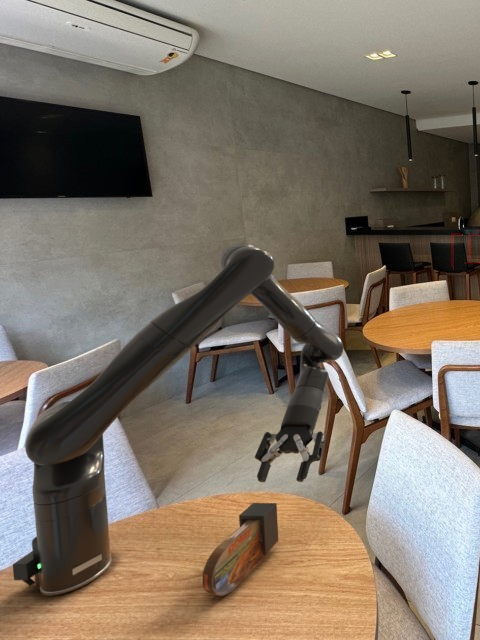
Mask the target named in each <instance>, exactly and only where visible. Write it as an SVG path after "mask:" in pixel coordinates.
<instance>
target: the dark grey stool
mask: <svg viewBox="0 0 480 640" xmlns="http://www.w3.org/2000/svg"><path fill="white" fill-rule="evenodd" d="M238 519H239V521H238V522H239V527H241V526H242V525H243V524H244V523H245V522H246V521H247V520H249V519H252V520H261V523H262V542H263V555H266V554H267V553H268V552H269V553H270V551H271V550H272V549H273V548H274V547H275V545H276V544H277V543H278V542H279V524H278V523H279V522H278V504H277V502H252V503H251V504H250V505H248V507H247V508H246V509H244V510H243V511H242V512H240V514H239V515H238ZM269 553H268V554H269ZM268 554H267V555H268Z"/></svg>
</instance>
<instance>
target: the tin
mask: <svg viewBox="0 0 480 640" xmlns="http://www.w3.org/2000/svg"><path fill="white" fill-rule="evenodd" d="M269 553H270V551H269V552H268V553H267V554H266V555H263V542H262V523H261V520H252V519H249V520H247V521H246V522H245V523H244V524H243V525H242V526H241V527H240V526H239V527H238V528H237V529H236V530H235V531H234V532H232V533H231V534H230V535H229V536H228V537H227V538H225V539H224V540H223V541H222V542H221V543H220V544H219V545H218V546H216V548H215V549H214V550H213V551H212V552H211V554H210V555H209V557H208V558H207V561H206V562H205V565H204V567H203V570H202V586H203V590H204V592H206V593H207V594H210V595H216V596H219V597H223V596H226V595H229V594H230V593H231V592H232V591H234V590H235V589H236V588H237V587H238V586H239V585H240V584H241V583H242V582H243V581H244V580H245V579H246V577H247V576H248V575H249V574H251V572H252V571H254V569H256V567H258V565H260V563H261V562H262V561H263V560H264V559H265V558H266V557H267V556H268V554H269Z"/></svg>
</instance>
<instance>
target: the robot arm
mask: <svg viewBox="0 0 480 640" xmlns="http://www.w3.org/2000/svg"><path fill="white" fill-rule="evenodd" d="M218 265H219V269H220V272H219V273H218V274H217V275H216V276H215V277H213V279H212V280H211V281H209V282H208V284H207V285H205V286H204V287H202V288H201V289H200V290H199V291H197V292H196V293H194V294H192V295H191V296H189V297H187V298H185V299H183V300H181V301H179V302H177V303H175V304H174V305H172V306H170V307H168V308H167V309H166V310H164V311H162V312H161V313H160V314H158V315H157V316H156V317H154V318H153V319H152V320H151V321H150V322H148V323H147V324H146V325H145V326H144V327H143V328H141V329H140V330H139V331H138V332H137V333H135V335H134V336H132V338H131V339H129V340H128V342H127V343H126V344H125V345H124V346H123V347H122V348H121V349H120V350H119V351H118V353H117V354H116V355H115V356H114V357H113V359H111V361H110V362H109V363H108V365H107V366H106V367H105V368H104V369H103V371H102V372H101V373H100V374H99V375H98V376H97V377H96V378H95V380H94V381H92V383H90V384H89V385H88V386H87V387H86V388H85V389H83V390H82V391H81V392H80V393H79V394H78V395H76V396H75V397H74V398H72V399H71V400H67V401H63V402H60V403H57V404H55V405H52V406H50V407H49V408H47V409H46V410H44V411H43V412H41V413H40V415H38V417H36V419H35V420H34V422H33V424H32V426H31V428H30V429H29V431H28V433H27V436H26V438H25V443H24V450H25V454H26V456H27V458H28V459H29V460H30V461H31V462H32V463H33V478H32V479H33V481H32V501H33V510H34V521H35V522H34V523H35V533H36V536H35V537H33V539H32V540H31V549H32V551H30V552H29V553H27V554H26V555H24V556H23V557H21V558H20V559H18V560H17V561H16V562H14V563H13V564H12V572H13V580H14V581H22V582H24V583H25V584H26V585H28V586H29V587H31V586H33V585H34V584H35V589H36V590H39V591H40V593H41V595H43V596H47V597H53V596H60V595H65V594H67V593H70V592H73V591H75V590H78V589H80V588H83V587H84V586H86V585H88V584H90V583H91V582H93V581H95V580H96V579H98V578H99V577H100V576H102V575H103V574H104V573H105V572H106V571H107V570H108V569H109V567H110V566H111V564H112V560H113V558H112V554H111V543H110V528H109V515H108V502H107V500H108V499H107V490H106V489H107V487H106V477H105V448H104V447H105V446H104V433H105V432H106V431H107V429H108V428H110V426H111V425H112V424H113V423H114V422H115V421H116V420H117V419H118V418H119V416H120V415H121V414H122V413H123V412H124V411H125V410H126V409H127V408H128V407H129V406H130V405H131V404H132V403H133V402H134V401H135V400H136V399H137V398H138V397H139V396H141V395H142V394H143V393H144V392H145V391H147V390H148V389H149V388H150V387H151V386H152V385H153V384H154V383H156V382H157V381H158V380H159V379H160V378H162V377H163V375H165V374H166V373H168V371H169V370H170V369H171V368H173V367H174V366H175V365H176V364H177V363H178V362H179V361H180V360H181V359H183V358H184V357H185V356H186V355H187V354H188V353H189V352H190V351H191V350H192V349H193V348H194V347H195V346H196V345H197V344H198V343H199V342H200V341H201V340H202V339H203V338H204V337H205V336H206V335H207V333H209V332H210V331H211V330H212V329H213V328H214V327H215V326H216V325H217V324H218V323H219V322H220V321H222V319H223V318H224V317H225V316H226V315H227V314H228V313H229V312H230V311H232V309H233V308H235V307H236V306H237V305H238V304H240V303H241V302H243V300H245V299H246V298H247V297H248V296H250V295H251V296H252V297H254V298H255V299H256V300H257V301H258V302H259V303H260V304H261V305H262V307H264V308H265V310H266V311H267V312H268V313H269V314H270V315H271V316H272V317H273V319H274V320H275V321H276V322H277V323H278V325H279V326H281V328H282V329H283V330H284V331H285V332H286V333H287V334H288V335H289V336H290V337H291V338H292V339H293V340H294V341H295V342H296V343H299V344H304V345H303V346H302V349H301V351H300V366H299V376H298V379H297V381H296V384H295V387H294V391H293V392H292V394H291V396H290V398H289V401H288V403H287V407H286V410H285V413H284V416H283V419H282V422H281V425H280V430H279V431H278V432H277V433H270V432H269V431H265V433H264V434H263V437H262V439H261V441H260V444H259V446H258V448H257V451H256V453H255V455H254V459H256V460H257V461H259V462H260V466H259V468H258V472H257V475H256V478H257V481H258V482H260V483H266V481H267V478H268V475H269V472H270V470H271V467H272V463H273V462H274V461H275V460H276V459H277V458H280V457H281V456H282V455H283V454H285V455H288V454H294V455H295V454H300V456H301V458H302V460H303V461H301V462H300V466H299V469H298V472H297V476H296V482H298V483H304V480H306V478H307V477H308V473H309V470H310V467H311V465H312V463H314V462H319V461H321V459H322V456H323V450H324V446H325V441H326V438H327V437H326V435H325V433H324V432H322V431H321V430H320V431H317V432H315V433H314V431H315V428H316V426H317V422H318V419H319V416H320V412H321V410H322V405H323V400H324V395H325V391H326V388H327V385H328V381H329V376H330V375H329V371H328V370H326V369H325V368H323V367H320V365H321V364H325V363H330V362H335V361H338V360H339V359H340V358H341V357H342V356H343V354H344V350H345V349H344V343H343V341H342V339H341V338H340V337H339V335H337V333H336V332H334V331H333V330H331V329H329V328H328V327H326V326H325V325H323V324H321V323H319V322H318V321H317V319H316V318H315V317H314V316H313V314H311V313H310V311H309V310H308V309H307V308H306V307H305V306H304V305H303V304H302V303H301V302H300V301H299V300H298V299H297V298H296V297H295V296H293V295H292V293H290V292H289V291H288V290H287V289H286V288H284V286H283V285H282V284H281V283H280V282H279V281H278V279H276V277H274V275H273V272H274V269H275V260H274V258H273V256H272V255H271V254H270V253H269V252H268V251H266V250H265V249H262V248H260V247H258V246H256V245H253V244H250V243H245V242H243V243H242V242H240V243H239V242H238V243H233V244H230V245H229V246H227V247H225V248H224V249H223V251H222V252H221V253H220V255H219V259H218ZM275 441H276V443H275V444H274V442H275ZM312 441H313V443H314V445H313V449H312V454H311V452H310V449H309V447H308V445H309V444H310V443H311V442H312ZM271 445H273V446H271ZM33 577H34V579H32V578H33Z"/></svg>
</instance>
